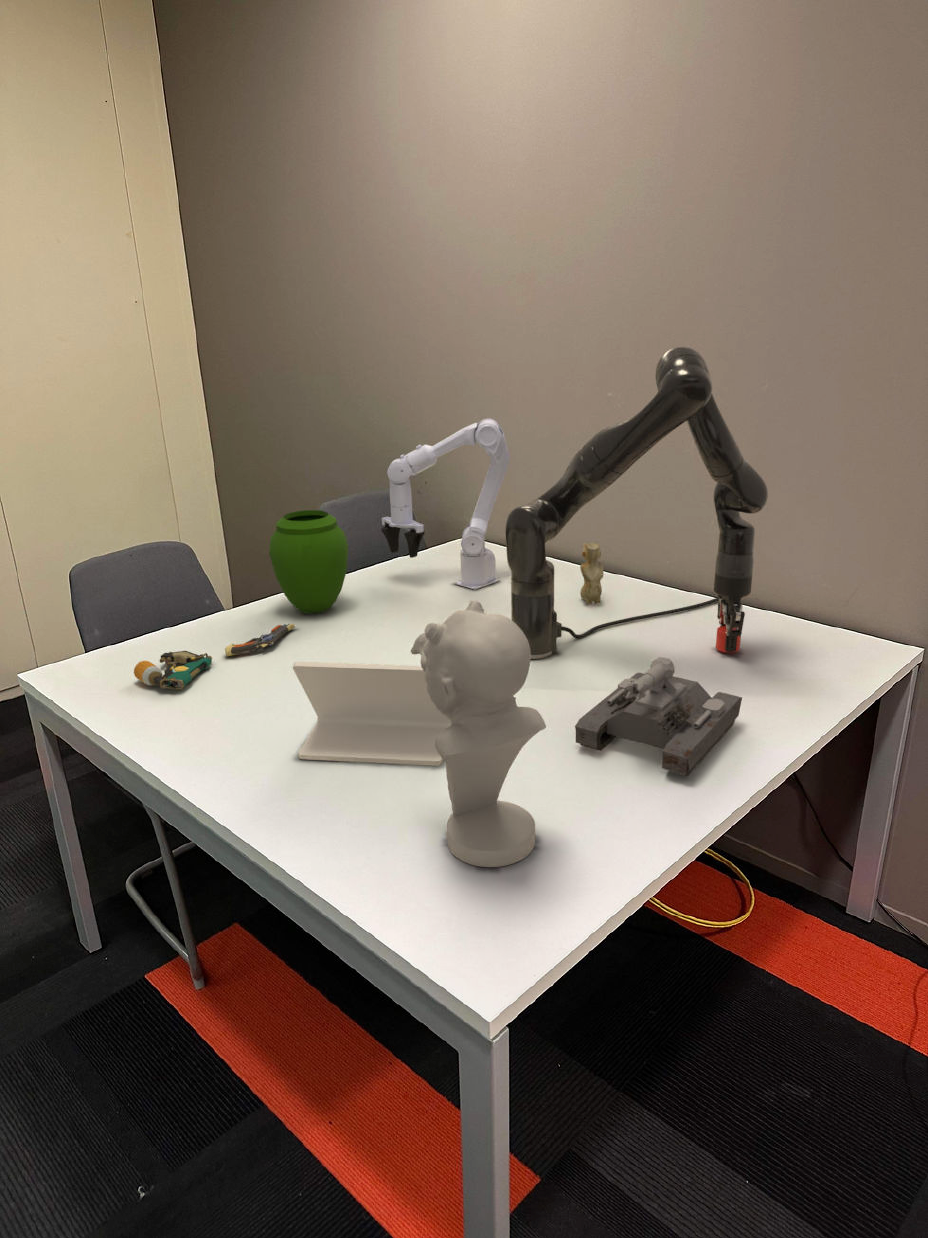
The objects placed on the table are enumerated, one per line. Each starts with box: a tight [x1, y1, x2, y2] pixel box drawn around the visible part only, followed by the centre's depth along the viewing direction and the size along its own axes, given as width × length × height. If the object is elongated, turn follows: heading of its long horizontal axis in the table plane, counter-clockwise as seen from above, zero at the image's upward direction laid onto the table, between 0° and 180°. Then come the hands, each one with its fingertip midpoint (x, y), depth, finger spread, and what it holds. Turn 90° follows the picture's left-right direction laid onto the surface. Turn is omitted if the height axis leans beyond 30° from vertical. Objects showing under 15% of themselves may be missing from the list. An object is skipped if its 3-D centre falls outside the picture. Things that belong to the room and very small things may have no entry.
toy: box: [574, 656, 743, 777], centre depth 148 cm, size 25×20×15 cm
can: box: [715, 626, 742, 654], centre depth 184 cm, size 5×5×4 cm
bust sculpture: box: [410, 599, 547, 868], centre depth 121 cm, size 16×24×35 cm
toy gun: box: [224, 623, 296, 657], centre depth 196 cm, size 3×19×10 cm
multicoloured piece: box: [133, 650, 213, 690], centre depth 180 cm, size 4×17×15 cm
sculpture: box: [579, 542, 604, 605], centre depth 214 cm, size 6×7×15 cm
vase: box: [268, 509, 349, 615], centre depth 213 cm, size 20×20×24 cm
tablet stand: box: [292, 661, 451, 766], centre depth 150 cm, size 18×25×17 cm
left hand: (403, 554), depth 231 cm, fingers open, 7 cm apart
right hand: (727, 645), depth 185 cm, fingers closed on can, 5 cm apart
